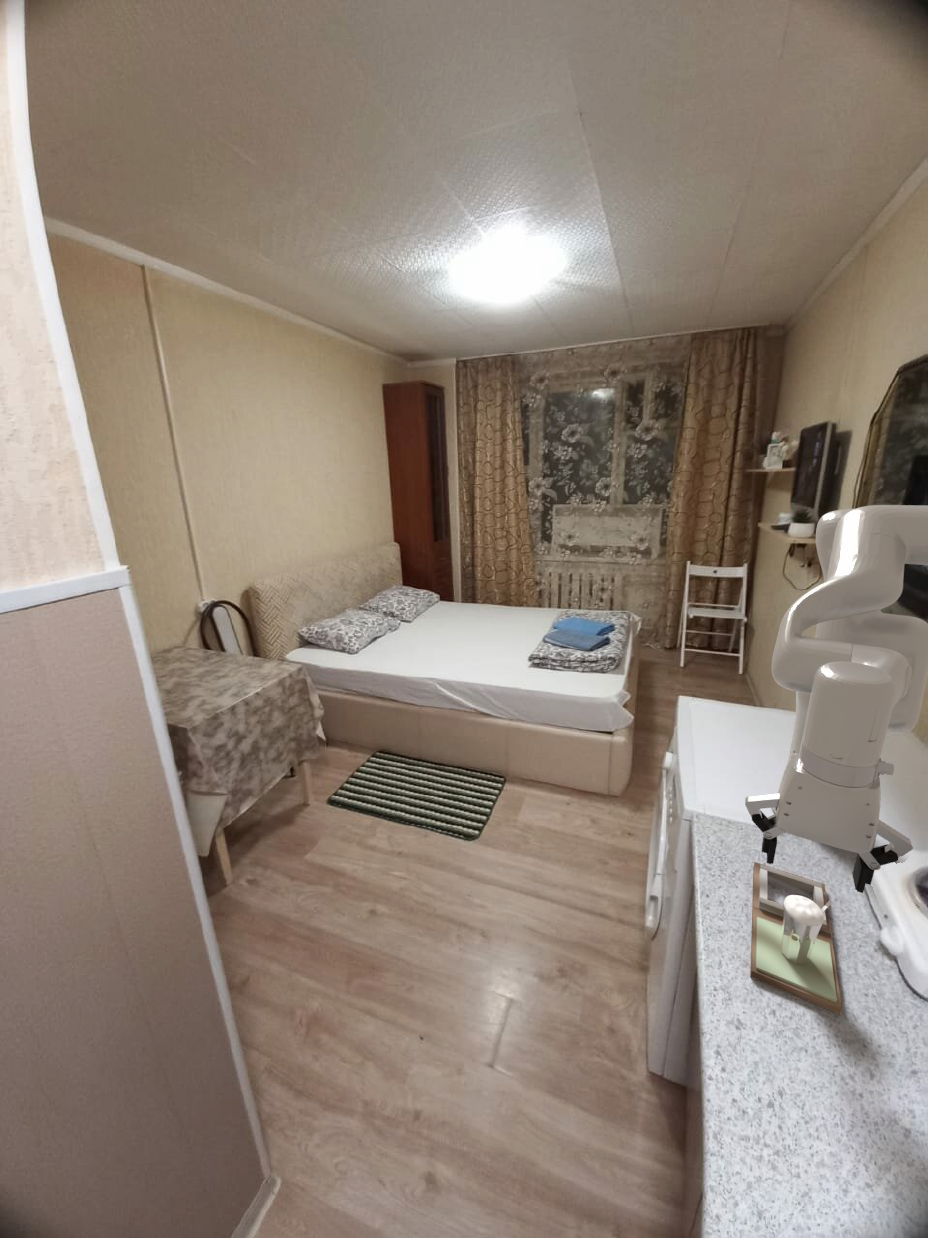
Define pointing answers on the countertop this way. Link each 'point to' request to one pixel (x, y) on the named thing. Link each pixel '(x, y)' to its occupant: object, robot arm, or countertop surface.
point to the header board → (767, 958)
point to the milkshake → (800, 927)
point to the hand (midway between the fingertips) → (811, 870)
